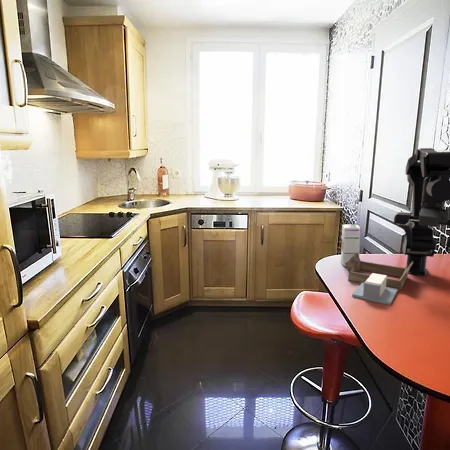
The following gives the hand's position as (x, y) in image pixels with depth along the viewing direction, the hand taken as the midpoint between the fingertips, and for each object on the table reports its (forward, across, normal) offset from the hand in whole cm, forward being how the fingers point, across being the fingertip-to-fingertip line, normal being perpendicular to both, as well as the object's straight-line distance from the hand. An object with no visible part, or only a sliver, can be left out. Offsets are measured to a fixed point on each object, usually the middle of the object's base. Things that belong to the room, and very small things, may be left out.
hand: (428, 249), depth 101 cm
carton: (+12, -13, 0) cm, 18 cm away
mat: (+12, -11, -13) cm, 21 cm away
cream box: (+11, -11, -13) cm, 20 cm away
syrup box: (+12, -25, +10) cm, 30 cm away
